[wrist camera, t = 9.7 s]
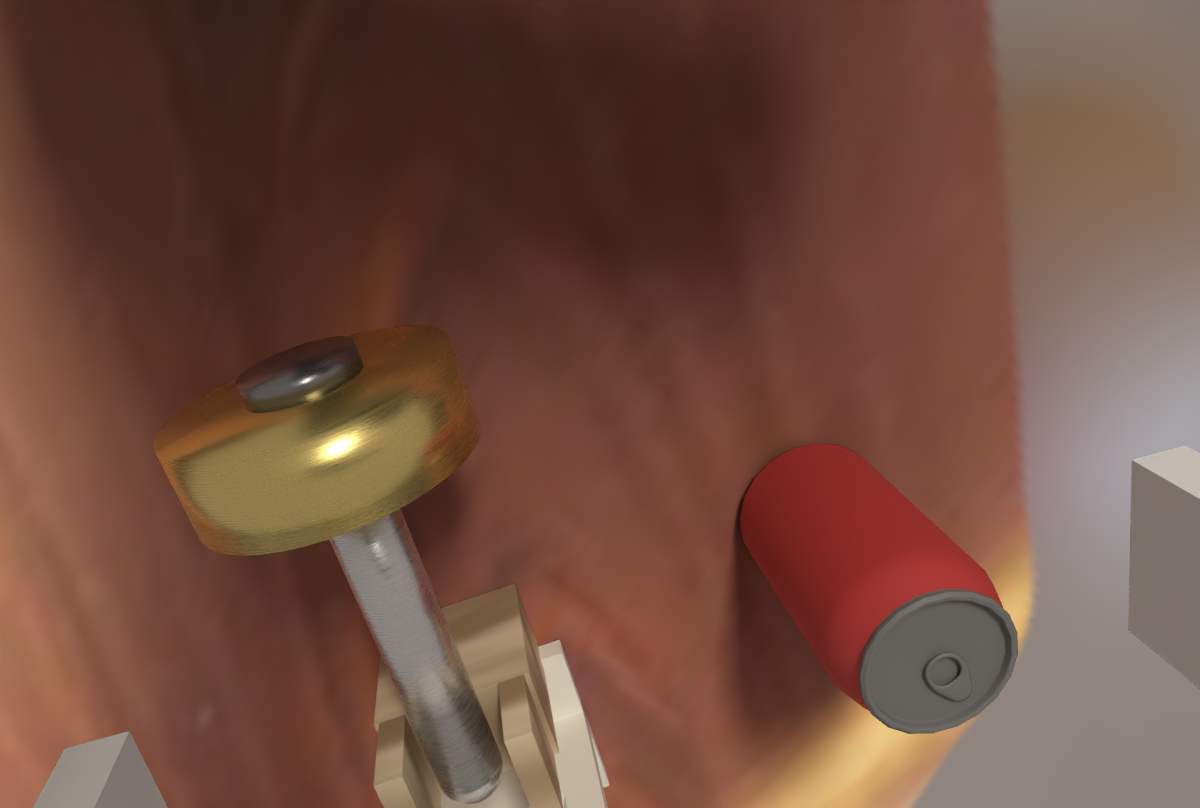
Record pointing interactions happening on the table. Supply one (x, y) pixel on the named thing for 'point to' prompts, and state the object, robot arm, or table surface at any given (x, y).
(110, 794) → the robot arm
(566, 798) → the beige slotted stand
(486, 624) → the cradle
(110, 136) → the table surface
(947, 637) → the beer can
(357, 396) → the gold disc on rod
